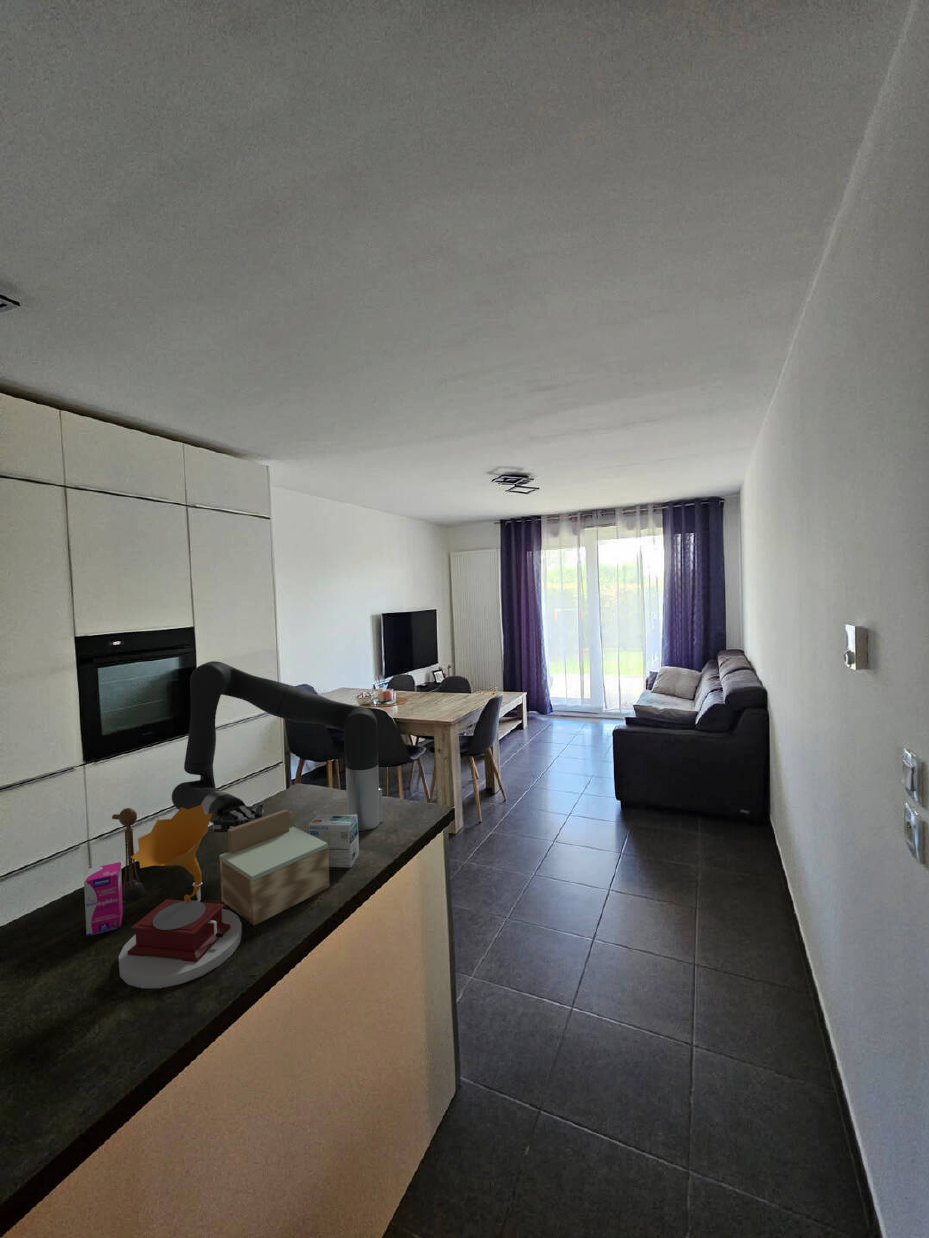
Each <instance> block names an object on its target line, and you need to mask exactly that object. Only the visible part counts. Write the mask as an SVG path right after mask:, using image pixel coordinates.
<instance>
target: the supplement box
mask: <svg viewBox="0 0 929 1238" xmlns="http://www.w3.org/2000/svg"><path fill="white" fill-rule="evenodd" d="M83 881H84V882H83V885H84V886H83V887H84V906H85V907H84V908H85V909H84V910H85V929H86V931H85V933H86V937H91V936H94V935H99V934H102V933H105V932H110V931H113V930H114V931H115V930H118V929H121V926H122V922H123V917H124V904H123V903H124V902H123V899H122V888H123V880H122V862H114V863H109V864H105V865H98V866H95V867H90V868H87V871H86V875H85V878H84V880H83Z"/></svg>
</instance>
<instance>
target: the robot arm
mask: <svg viewBox="0 0 929 1238" xmlns="http://www.w3.org/2000/svg"><path fill="white" fill-rule="evenodd" d="M189 690H190V691H189V692H190V694H189V695H190V718H189V719H190V720H189V731H188V737H187V743H186V744H187V745H186V749H185V750H186V751H185V757H184V763H183V764H184V766H183V768H184V769H183V770H184V771H185V773H186V774H189V775H192V776H193V775H195V776H200V779H199V780H192V781H185V782H181V783H179V784H177V785H176V786H175V787H174V789H173V790H172V793H171V801H172V804H173V806H174V807H175V808H176V809H177V811H178V810H179V809H180V808H181V807H182V808H185V809H191V808H194V807H197V806H200V805H202V807H203V810H204V813H205V814H211V813H212V816H211V819H210V822H209V823H212V827H213V833H228V829H231V828H233V827H236V826H239V825H242V824H245V823H247V822H250V821H253V820H256V819H259V818H262V817H264V815H265V810H264V809H265V808H264V807H265V806H264V805H263V804H259V805H258V806H256V807H255V808H253V807H252V806H251V805H250V806H248V805H246V803H245V802H244V801H243V800H242V799H240V798H239V797H236V796H234V795H232V794H230V793H229V792H226V791H221V790H219V789H217V788H216V783H215V774H214V759H215V755H216V754H215V753H216V746H217V745H216V743H217V731H216V728H217V727H216V715H217V711H218V705H219V703H220V699H221V696H227V697H231V698H235V699H240V700H242V701H245V702H248V703H249V704H251V705H252V706H255V707H256V708H257V709H259V710H261V711H263V712H264V713H267V714H269V715H272V716H274V717H276V718H281V719H282V720H283V719H284V720H288V721H290V722H294V723H295V722H296V723H301V724H303V723H304V724H318V725H325V726H329V727H330V728H331V727H332V728H335V729H338V730H340V731H342V732H343V743H344V760H345V783H346V785H345V787H346V814H357V818H358V832H361V831H362V832H363V831H370V830H372V829H376V828H377V827H379V825H381V823H382V822H384V817H383V816H384V815H383V813H384V812H383V789H382V788H381V787H380V776H379V774H380V773H379V737H378V735H379V733H378V729H379V728H378V720H377V717H376V714H375V713H374V712H373V711H372V710H371V709H369V708H367V707H364V706H358V705H353V704H348V703H343V702H339V701H336V700H333V699H330V698H327V697H325V696H322V695H319V694H317V693H314V692H311V691H309V690H306V689H303V688H300V687H299V686H298V687H297V686H294V685H291V684H288V683H284V682H280V681H276V680H273V679H269V678H264V677H260V676H257V675H256V676H255V675H253V674H250V673H248V672H245V671H244V670H243V671H242V670H240V669H238V668H236V667H234V666H230V665H229V664H227V663H224V662H221V661H218V660H217V661H216V660H215V661H213V660H212V661H208V662H205V663H202V664H200V665H199V666H197V667H196V668H194V670H193V671H192V672H191V675H190V678H189Z"/></svg>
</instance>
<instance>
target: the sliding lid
mask: <svg viewBox="0 0 929 1238" xmlns="http://www.w3.org/2000/svg"><path fill="white" fill-rule="evenodd" d="M289 811H290V810H288V809H282V810H279V811H276V812H273V813H271V814H268V815H265V816H263V817H262V818H259V819H256V820H253V821H250V822H247V823H245V824H242V825H239V826H236V827H233V828H231V829H228V832H227V849H228V850H227V852H224V853H223V854H222V853H221V854H220V855H219V861H220V860H221V861H222V862H224V863H225V864H227V865H228V866H230V867H231V868H233V869H234V870H236V871H237V872H239V873H240V874H242V875H243V876H245V877H246V878H248V879H249V880H251V881H254V880H256V879H259V878H261V877H263V876H265V875H268V874H270V873H272V872H274V871H277V870H279V869H281V868H283V867H286V866H288V865H290V864H292V863H295V862H297V861H299V860H301V859H303V858H306V857H308V856H310V855H312V854H315V853H317V852H319V851H321V850H324V849H326V848H328V843H326V842H324V841H322V840H320V839H318V838H316V837H314V836H312V835H310V834H309V832H308V833H307V832H305V831H303V830H301V829H299V828H297V827H296V826H292V827H290V813H289Z"/></svg>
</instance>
